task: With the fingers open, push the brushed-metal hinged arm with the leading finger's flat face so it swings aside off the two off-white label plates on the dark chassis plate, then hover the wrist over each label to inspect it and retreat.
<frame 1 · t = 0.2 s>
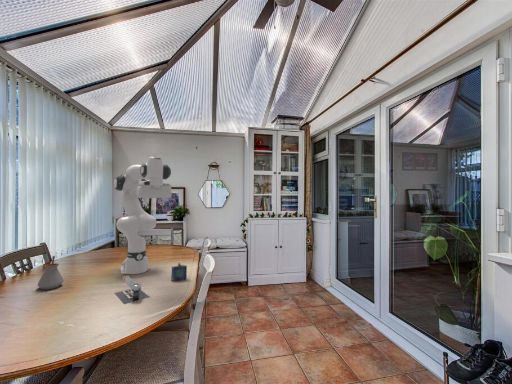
hand: (154, 205, 147), 47 cm above the table, fingers open, 8 cm apart
grey vase with sticks: (51, 284, 143), on the table
label plate 1: (128, 292, 130), resting on chassis plate
chassis plate: (131, 296, 127), on the table
flask: (178, 280, 153), on the table
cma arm: (131, 283, 127), point 7 cm above the table, hinge at 0.0°
dark grey cylinder: (135, 299, 122), resting on chassis plate
label plate 2: (132, 295, 126), resting on chassis plate
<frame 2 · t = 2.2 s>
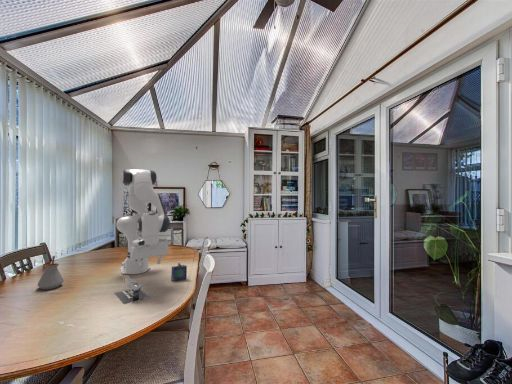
hand: (150, 265, 135), 14 cm above the table, fingers open, 8 cm apart
nothing on the table moved.
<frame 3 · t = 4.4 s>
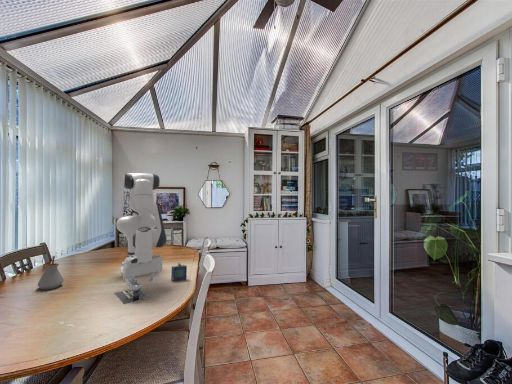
hand: (143, 282, 133), 6 cm above the table, fingers open, 7 cm apart
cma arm: (131, 283, 127), point 7 cm above the table, hinge at 0.1°, touching gripper
everything else where it was.
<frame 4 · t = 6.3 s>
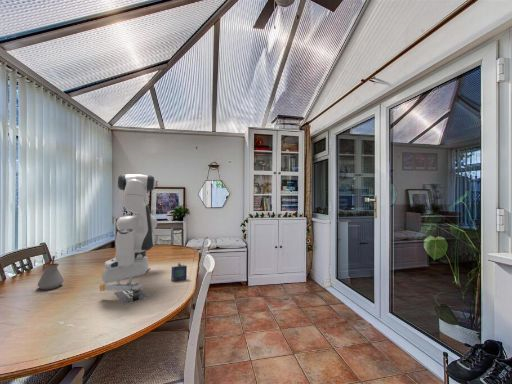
hand: (124, 286, 126), 6 cm above the table, fingers closed
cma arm: (121, 287, 122), point 7 cm above the table, hinge at 46.7°, touching gripper
everything else where it was.
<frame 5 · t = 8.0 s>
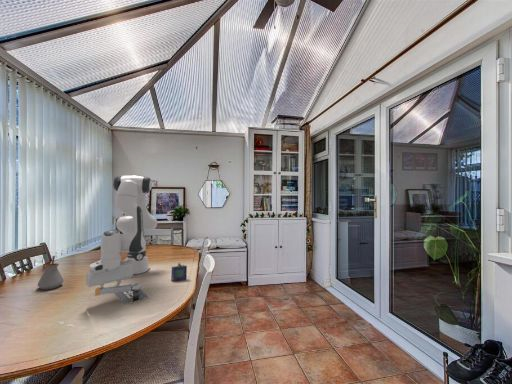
hand: (110, 290, 121), 5 cm above the table, fingers open, 4 cm apart
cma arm: (119, 289, 119), point 7 cm above the table, hinge at 66.0°, touching gripper
everything else where it was.
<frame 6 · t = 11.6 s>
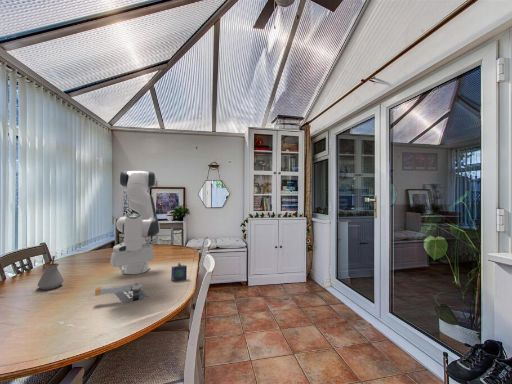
hand: (132, 272, 126), 14 cm above the table, fingers open, 8 cm apart
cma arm: (119, 289, 119), point 7 cm above the table, hinge at 66.0°
everything else where it was.
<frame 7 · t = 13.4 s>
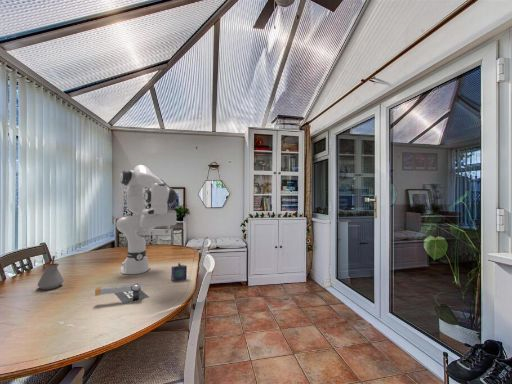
hand: (158, 234, 140), 31 cm above the table, fingers open, 8 cm apart
nothing on the table moved.
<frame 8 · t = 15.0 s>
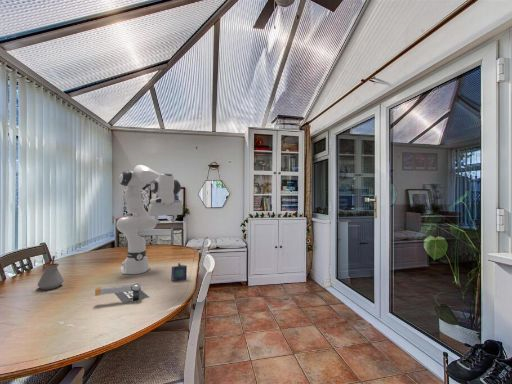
hand: (165, 222, 145), 37 cm above the table, fingers open, 8 cm apart
nothing on the table moved.
at the end: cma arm at +66° (first picture: +0°) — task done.
